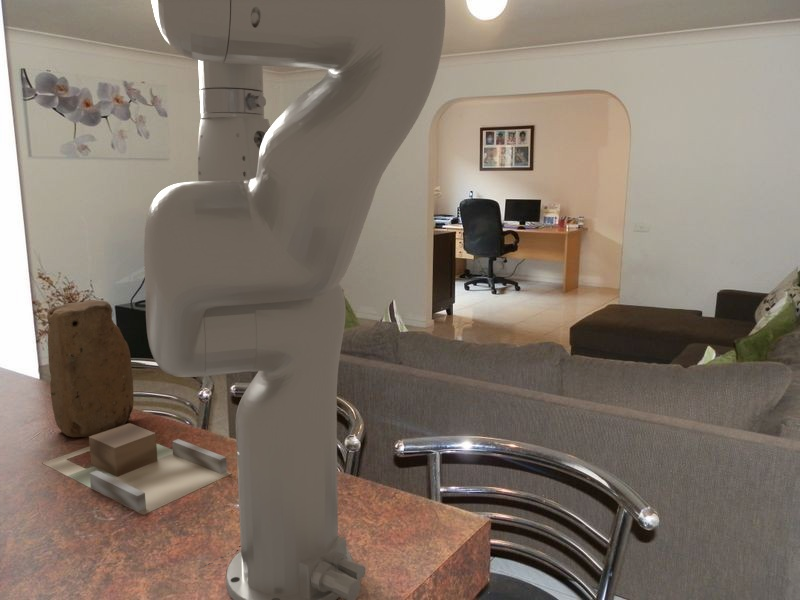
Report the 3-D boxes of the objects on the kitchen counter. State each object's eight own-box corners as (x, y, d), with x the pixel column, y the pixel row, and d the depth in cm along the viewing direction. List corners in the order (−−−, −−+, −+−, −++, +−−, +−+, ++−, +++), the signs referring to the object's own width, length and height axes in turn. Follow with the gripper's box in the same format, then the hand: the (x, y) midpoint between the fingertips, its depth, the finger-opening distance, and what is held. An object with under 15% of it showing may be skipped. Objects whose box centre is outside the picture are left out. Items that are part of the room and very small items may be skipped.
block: (71, 444, 98) (59, 312, 94) (50, 431, 103) (37, 304, 99) (141, 424, 106) (132, 301, 102) (119, 412, 111) (109, 294, 107)
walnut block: (157, 460, 91) (155, 433, 90) (117, 477, 86) (114, 447, 85) (131, 449, 94) (129, 423, 93) (91, 464, 89) (88, 436, 88)
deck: (232, 480, 87) (231, 459, 87) (144, 522, 77) (142, 498, 76) (129, 438, 100) (128, 419, 100) (42, 469, 90) (40, 449, 89)
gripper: (298, 107, 80) (302, 258, 84) (216, 112, 88) (222, 249, 92) (251, 102, 74) (257, 265, 78) (168, 107, 82) (177, 255, 86)
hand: (238, 256), depth 85 cm, fingers closed
